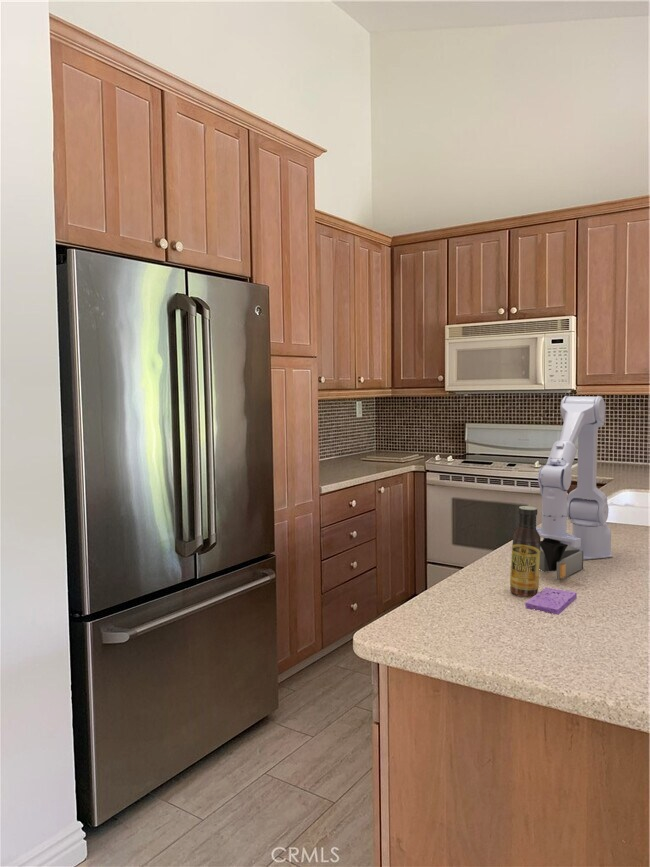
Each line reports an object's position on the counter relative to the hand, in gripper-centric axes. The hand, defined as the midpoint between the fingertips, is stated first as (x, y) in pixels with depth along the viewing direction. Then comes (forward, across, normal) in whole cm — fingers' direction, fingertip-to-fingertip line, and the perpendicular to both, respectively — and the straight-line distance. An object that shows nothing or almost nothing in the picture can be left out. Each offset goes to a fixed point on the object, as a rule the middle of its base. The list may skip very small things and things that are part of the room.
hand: (553, 570), depth 159 cm
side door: (+2, 0, +6) cm, 6 cm away
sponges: (+3, +12, -13) cm, 18 cm away
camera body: (+2, -8, +8) cm, 11 cm away
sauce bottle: (+2, +5, -14) cm, 15 cm away
